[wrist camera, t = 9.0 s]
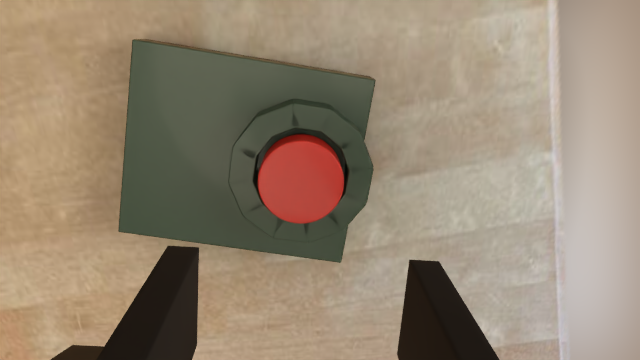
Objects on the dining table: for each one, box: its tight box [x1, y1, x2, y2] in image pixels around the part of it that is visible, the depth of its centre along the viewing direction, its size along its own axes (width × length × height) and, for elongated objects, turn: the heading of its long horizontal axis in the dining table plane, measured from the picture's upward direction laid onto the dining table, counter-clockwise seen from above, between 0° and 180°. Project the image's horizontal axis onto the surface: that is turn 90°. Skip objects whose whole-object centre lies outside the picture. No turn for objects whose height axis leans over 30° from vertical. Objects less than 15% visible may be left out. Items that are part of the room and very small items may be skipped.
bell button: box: [258, 134, 344, 224], centre depth 25 cm, size 4×4×2 cm
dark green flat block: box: [119, 39, 375, 262], centre depth 28 cm, size 12×10×4 cm
